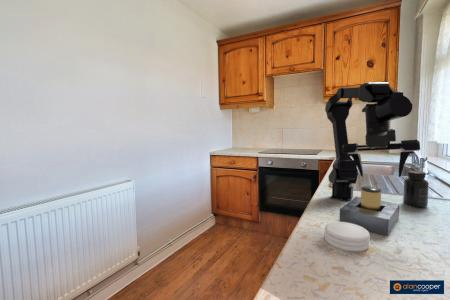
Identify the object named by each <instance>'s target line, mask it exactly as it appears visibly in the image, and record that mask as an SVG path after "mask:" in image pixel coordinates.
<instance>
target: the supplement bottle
mask: <svg viewBox="0 0 450 300" xmlns="http://www.w3.org/2000/svg"><path fill="white" fill-rule="evenodd" d="M429 185H430V184H429V182H428V180H426V172H425V171H421V170H420V171H419V170H409V171H407V178H405V179H404V180H403V193H402V194H403V197H402V203H403V205H405V206H407V207H411V208H416V209H417V208H418V209H423V208H424V209H425V208H427V207H428V203H429V187H430V186H429Z"/></svg>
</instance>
